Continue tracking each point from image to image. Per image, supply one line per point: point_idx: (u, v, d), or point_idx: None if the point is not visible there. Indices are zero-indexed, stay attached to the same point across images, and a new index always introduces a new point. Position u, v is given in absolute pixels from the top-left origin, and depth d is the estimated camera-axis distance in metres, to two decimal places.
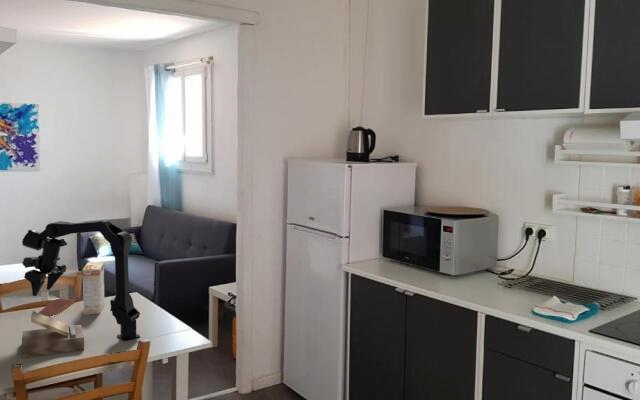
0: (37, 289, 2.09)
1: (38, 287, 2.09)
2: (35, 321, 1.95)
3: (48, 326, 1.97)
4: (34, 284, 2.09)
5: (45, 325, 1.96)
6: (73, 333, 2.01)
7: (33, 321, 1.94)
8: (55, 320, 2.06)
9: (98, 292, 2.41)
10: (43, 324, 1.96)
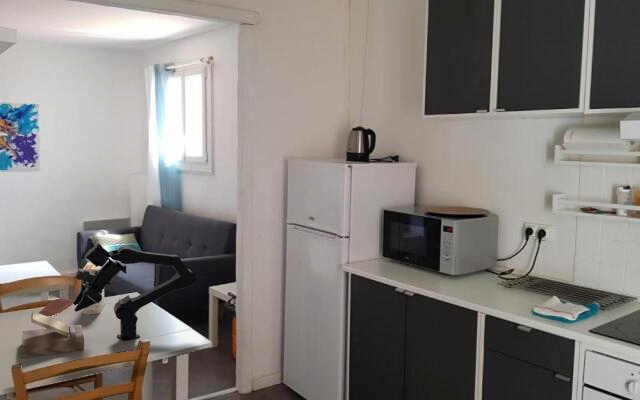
0: (85, 306, 2.01)
1: (87, 305, 2.01)
2: (35, 321, 1.95)
3: (48, 326, 1.97)
4: (84, 301, 2.01)
5: (45, 325, 1.96)
6: (73, 333, 2.01)
7: (33, 321, 1.94)
8: (55, 320, 2.06)
9: None
10: (43, 324, 1.96)
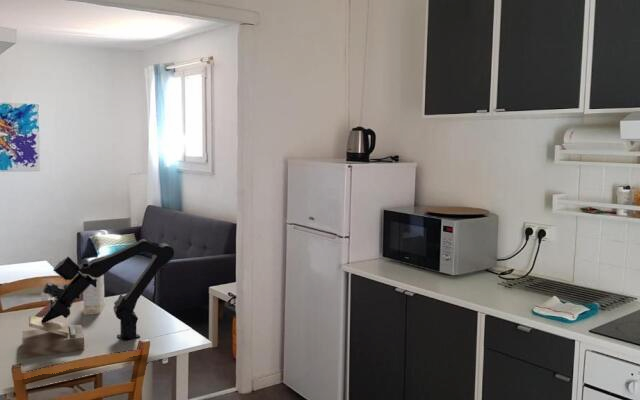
0: (52, 317, 2.00)
1: (55, 316, 2.00)
2: (33, 325, 1.94)
3: (46, 328, 1.97)
4: (52, 312, 2.00)
5: (43, 328, 1.96)
6: (73, 333, 2.01)
7: (31, 325, 1.94)
8: (54, 321, 2.06)
9: (98, 292, 2.41)
10: (41, 327, 1.96)
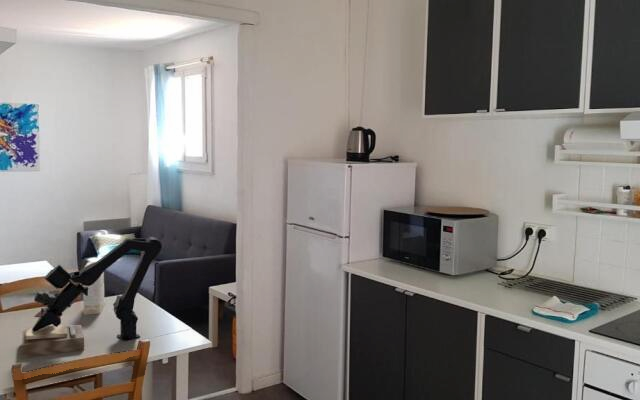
0: (43, 326, 1.99)
1: (46, 325, 1.99)
2: (29, 337, 1.94)
3: (44, 336, 1.96)
4: (43, 321, 1.99)
5: (40, 336, 1.96)
6: (73, 333, 2.01)
7: (27, 337, 1.94)
8: (51, 326, 2.06)
9: (98, 292, 2.41)
10: (38, 336, 1.96)
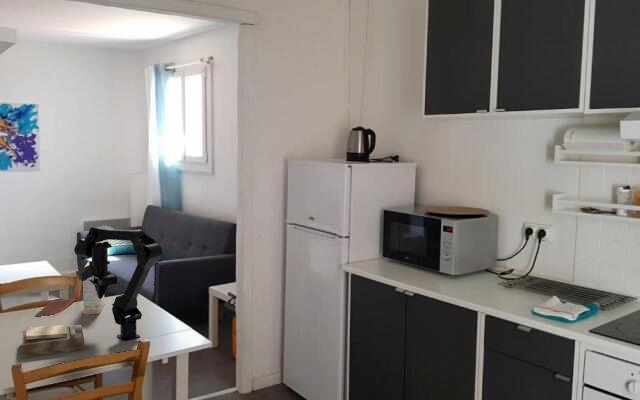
0: (104, 290, 2.18)
1: (105, 287, 2.18)
2: (29, 337, 1.94)
3: (44, 336, 1.96)
4: (101, 287, 2.17)
5: (40, 336, 1.96)
6: (73, 333, 2.01)
7: (27, 338, 1.94)
8: (51, 326, 2.06)
9: None
10: (38, 336, 1.96)
